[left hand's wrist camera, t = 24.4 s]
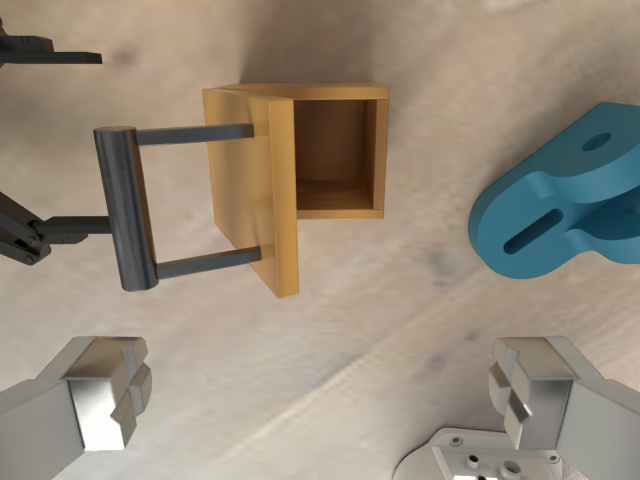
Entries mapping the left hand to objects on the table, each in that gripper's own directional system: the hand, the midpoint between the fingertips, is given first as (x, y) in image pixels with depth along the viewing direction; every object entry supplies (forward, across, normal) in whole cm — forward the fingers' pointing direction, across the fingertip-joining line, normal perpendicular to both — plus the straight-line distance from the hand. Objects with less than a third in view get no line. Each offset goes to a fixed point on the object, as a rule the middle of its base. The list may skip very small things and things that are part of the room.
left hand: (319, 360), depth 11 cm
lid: (+19, -4, 0) cm, 19 cm away
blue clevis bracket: (+37, +24, -6) cm, 44 cm away
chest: (+37, -1, 0) cm, 37 cm away
